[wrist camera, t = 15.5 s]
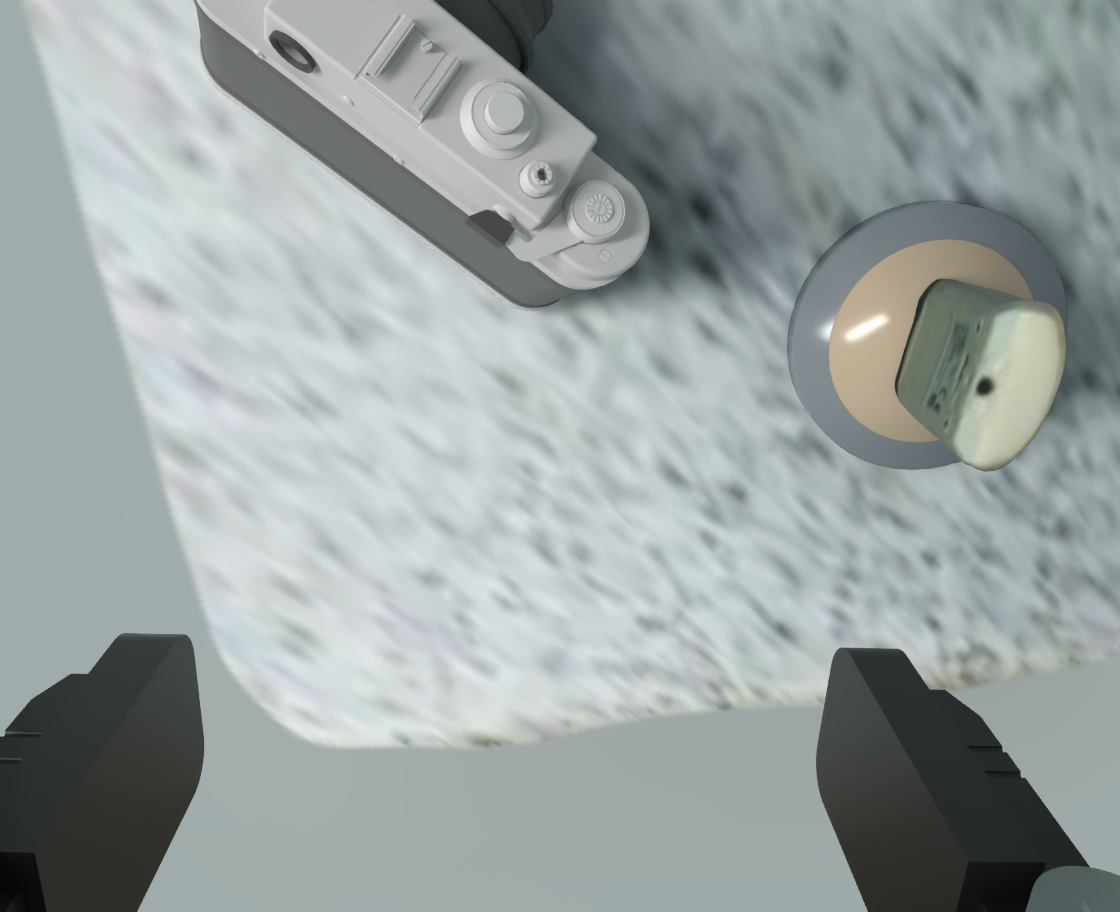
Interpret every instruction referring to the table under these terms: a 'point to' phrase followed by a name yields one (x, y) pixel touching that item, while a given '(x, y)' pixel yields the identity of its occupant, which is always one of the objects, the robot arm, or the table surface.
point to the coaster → (898, 317)
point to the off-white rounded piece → (981, 370)
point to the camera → (437, 131)
